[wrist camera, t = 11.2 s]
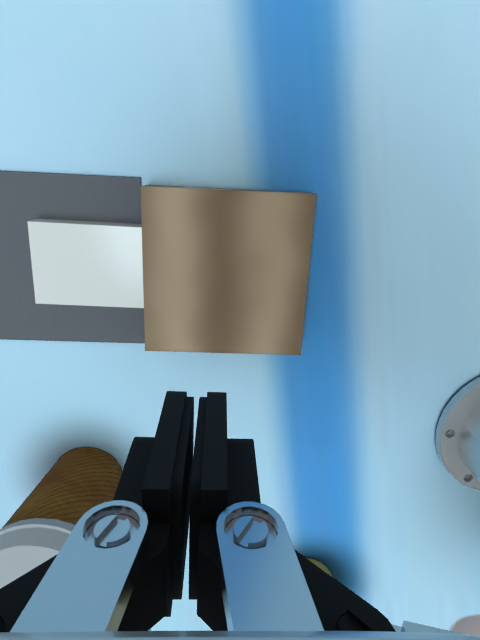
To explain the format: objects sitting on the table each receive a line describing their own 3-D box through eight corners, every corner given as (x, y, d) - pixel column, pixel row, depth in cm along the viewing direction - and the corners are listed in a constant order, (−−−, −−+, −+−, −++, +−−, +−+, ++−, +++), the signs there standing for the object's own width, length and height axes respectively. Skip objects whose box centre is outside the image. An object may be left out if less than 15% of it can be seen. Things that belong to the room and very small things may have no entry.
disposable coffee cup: (36, 511, 41) (-36, 641, 30) (36, 425, 38) (-43, 533, 27) (136, 520, 42) (104, 650, 30) (144, 437, 39) (112, 546, 27)
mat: (140, 177, 32) (140, 177, 31) (145, 341, 36) (144, 343, 35) (-28, 169, 31) (-30, 169, 31) (-3, 337, 35) (-5, 339, 35)
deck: (308, 192, 32) (316, 194, 30) (294, 340, 36) (300, 354, 33) (147, 185, 32) (140, 186, 29) (151, 336, 36) (144, 350, 33)
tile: (147, 224, 32) (142, 227, 30) (148, 300, 34) (144, 308, 32) (38, 218, 32) (27, 221, 30) (46, 296, 34) (35, 303, 32)
